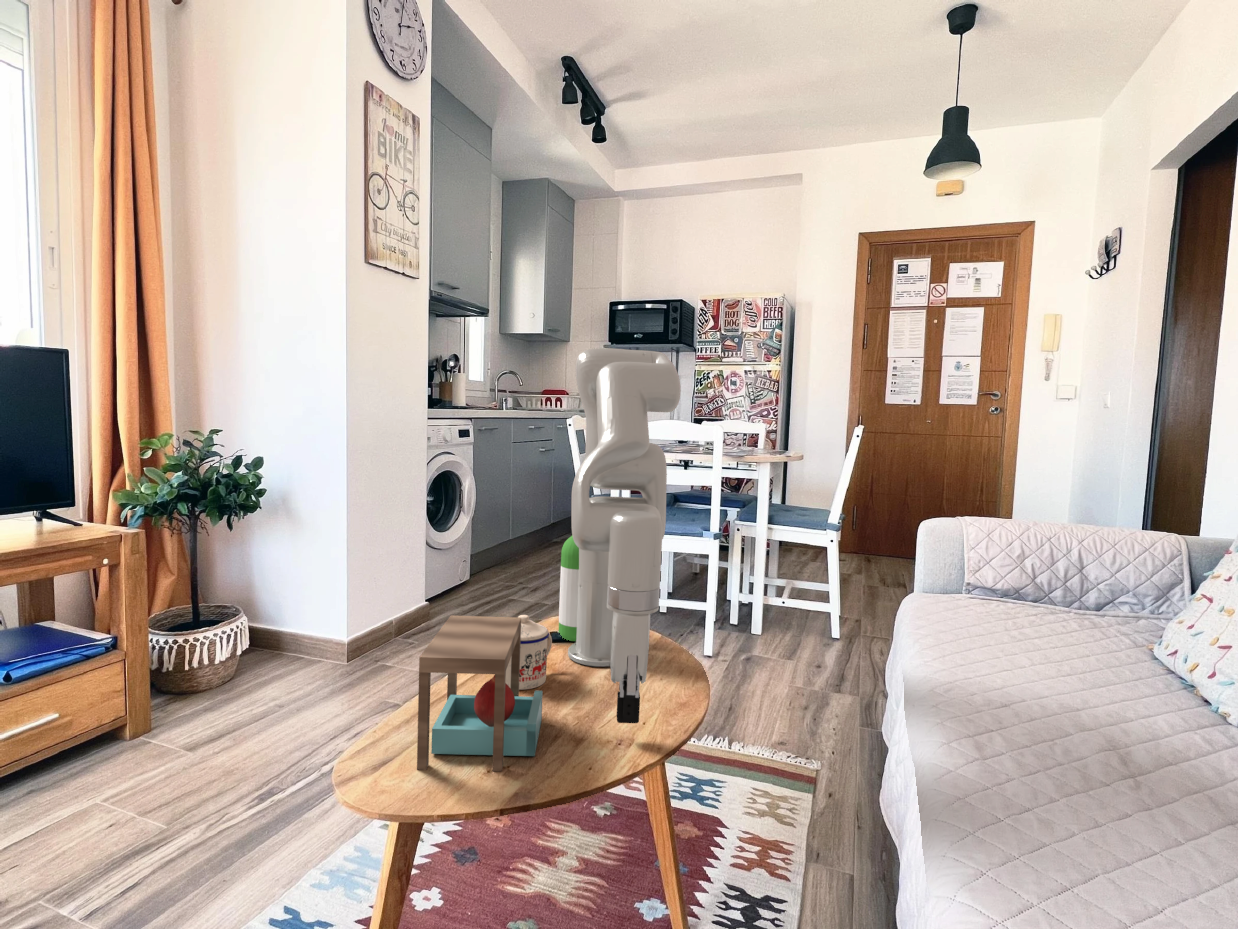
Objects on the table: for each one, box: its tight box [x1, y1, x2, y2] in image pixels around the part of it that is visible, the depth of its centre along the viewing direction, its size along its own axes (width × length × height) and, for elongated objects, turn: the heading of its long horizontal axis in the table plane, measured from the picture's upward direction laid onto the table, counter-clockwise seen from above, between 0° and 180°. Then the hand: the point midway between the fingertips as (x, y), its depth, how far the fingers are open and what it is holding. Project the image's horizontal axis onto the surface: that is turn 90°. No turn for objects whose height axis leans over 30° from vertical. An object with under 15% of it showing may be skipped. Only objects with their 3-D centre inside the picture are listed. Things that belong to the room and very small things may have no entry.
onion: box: [474, 674, 515, 727], centre depth 94 cm, size 6×6×8 cm
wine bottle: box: [558, 535, 579, 642], centre depth 138 cm, size 8×8×30 cm
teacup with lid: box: [506, 614, 553, 691], centre depth 116 cm, size 12×9×12 cm
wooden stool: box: [416, 615, 521, 772], centre depth 93 cm, size 18×11×15 cm, turn 2°
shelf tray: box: [431, 689, 543, 757], centre depth 94 cm, size 11×14×4 cm
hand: (627, 720), depth 95 cm, fingers closed
